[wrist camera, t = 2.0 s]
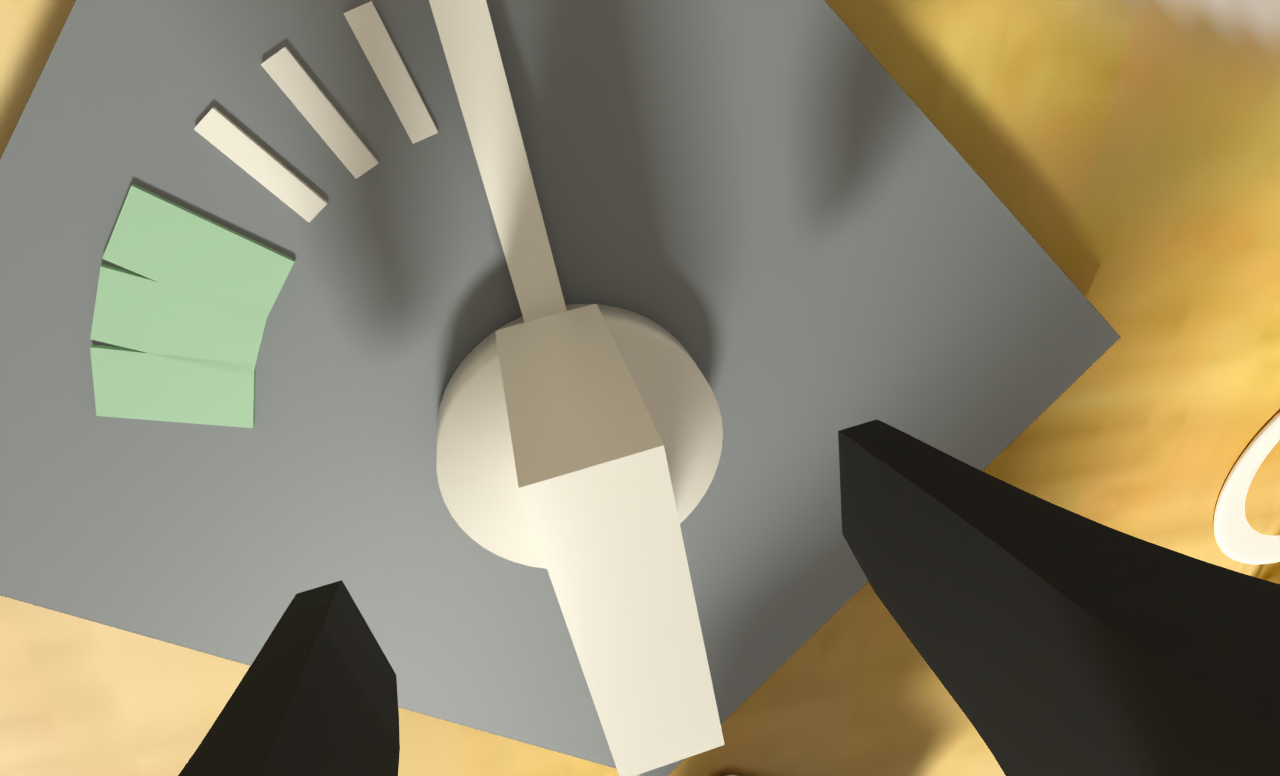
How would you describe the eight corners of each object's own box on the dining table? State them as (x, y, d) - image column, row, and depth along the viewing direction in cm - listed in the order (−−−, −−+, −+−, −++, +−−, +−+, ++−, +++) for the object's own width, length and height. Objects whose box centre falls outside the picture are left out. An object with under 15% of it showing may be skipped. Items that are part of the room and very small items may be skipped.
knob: (722, 503, 15) (831, 708, 11) (488, 575, 15) (507, 819, 10) (624, -115, 9) (771, -191, 5) (235, -36, 9) (47, -49, 5)
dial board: (1079, 315, 17) (1124, 338, 16) (651, 742, 21) (662, 784, 20) (351, -487, 8) (337, -557, 7) (-132, 497, 12) (-188, 547, 11)
